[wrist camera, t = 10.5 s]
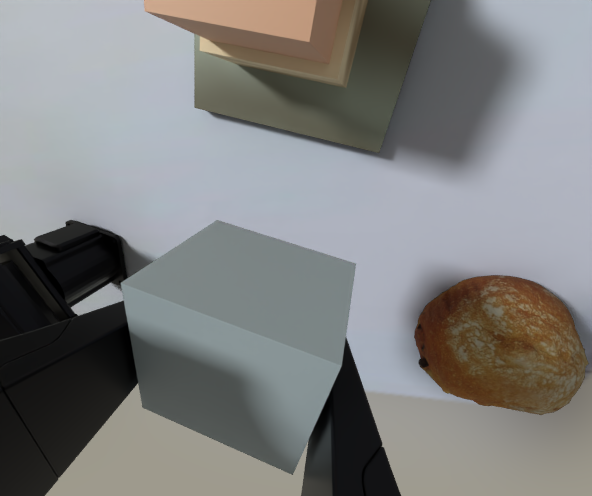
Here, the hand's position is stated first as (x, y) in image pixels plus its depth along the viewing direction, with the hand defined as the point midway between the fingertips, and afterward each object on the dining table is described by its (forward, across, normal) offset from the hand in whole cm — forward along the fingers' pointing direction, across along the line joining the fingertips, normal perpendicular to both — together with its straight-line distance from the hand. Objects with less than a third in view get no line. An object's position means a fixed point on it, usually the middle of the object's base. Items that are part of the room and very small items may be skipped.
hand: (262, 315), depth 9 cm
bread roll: (+13, -15, +6) cm, 20 cm away
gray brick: (+1, 0, 0) cm, 1 cm away
